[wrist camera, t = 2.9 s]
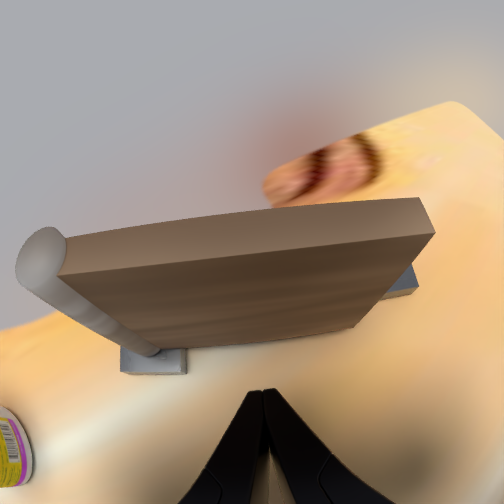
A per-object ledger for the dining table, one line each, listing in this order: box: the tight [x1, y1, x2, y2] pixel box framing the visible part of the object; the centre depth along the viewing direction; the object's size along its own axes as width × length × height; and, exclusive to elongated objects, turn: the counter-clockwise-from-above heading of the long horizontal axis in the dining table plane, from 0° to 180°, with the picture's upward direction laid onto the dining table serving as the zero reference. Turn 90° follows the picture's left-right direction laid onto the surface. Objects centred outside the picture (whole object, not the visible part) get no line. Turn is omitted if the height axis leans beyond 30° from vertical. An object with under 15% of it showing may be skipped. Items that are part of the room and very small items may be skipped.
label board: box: [120, 264, 419, 375], centre depth 16 cm, size 8×18×1 cm, turn 96°
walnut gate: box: [15, 197, 436, 357], centre depth 11 cm, size 2×12×9 cm, turn 96°
